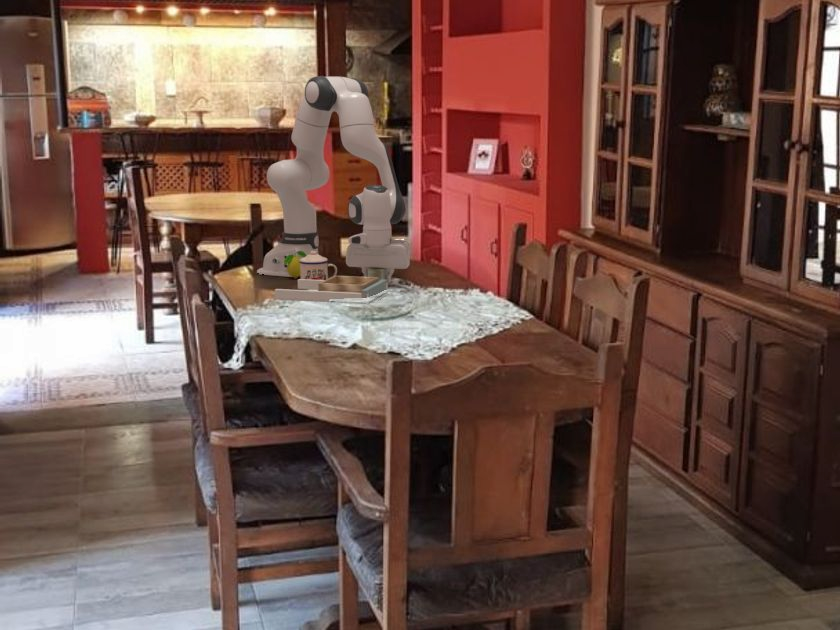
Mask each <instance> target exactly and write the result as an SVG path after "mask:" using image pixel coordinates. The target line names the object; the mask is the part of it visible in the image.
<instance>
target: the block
mask: <svg viewBox="0 0 840 630" xmlns="http://www.w3.org/2000/svg"><path fill="white" fill-rule="evenodd" d="M367 272H368V277H379V281H380V280H382V279H384V280H385V277H386V276H388V274H389V272H388V268H369V267H368V270H367ZM387 283H388V284H389V282H387Z"/></svg>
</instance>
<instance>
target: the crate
mask: <svg viewBox="0 0 840 630" xmlns="http://www.w3.org/2000/svg"><path fill="white" fill-rule="evenodd" d="M330 277H331V276H330ZM378 281H379V277H365V276H356V275H355V276H354V275H353V276H352V275H350V276H349V275H336V276H334V277H331V278H329V279H327V280H325V281H323V282H321V283H318V290H317V291H331V292H352V293H361V290H363V289H365V288H367V287H369V286H371V285H373V284H375V283H376V282H378Z"/></svg>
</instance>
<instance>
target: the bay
mask: <svg viewBox="0 0 840 630" xmlns="http://www.w3.org/2000/svg"><path fill="white" fill-rule="evenodd" d="M323 281H325V280H310V279H301V278H299V279H298V278H297V289H290V288H289V289H288V288H287V289H284V288H276V289H275V288H274V300H285V301H306V302H325V303H330V302H329V300H330V299H344V298H367V297H370V296H373V295H376V294H378V293H380V292H382V291H384V290H387V289H388V287H389V282H388V283H387V280H384V279H382V280H380V281H378V282H376V283H375V284H373V285H371V286H369V287H367V288H365V289H363V290H361V293H352V292H331V291H318V283H321V282H323Z"/></svg>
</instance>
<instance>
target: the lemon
mask: <svg viewBox="0 0 840 630" xmlns="http://www.w3.org/2000/svg"><path fill="white" fill-rule="evenodd" d="M294 250H295V249H294ZM295 252H296V251H295ZM296 253H297V254H298V255H300V256H301V257H303V258H304V257H306V254H305V253H304V252H303V251H299V252H296ZM293 255H294V254H293ZM293 255H288V256H287V257H286V258H285V260H284V264H287V263H288V264H287V271H288V273H289V275H291V276H293V277H292V278H293V279H295V280H296V279H297V280H298V278H299V277H301V274H300V262H299V261H300V258H298V257H297V256H294V257H293Z"/></svg>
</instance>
